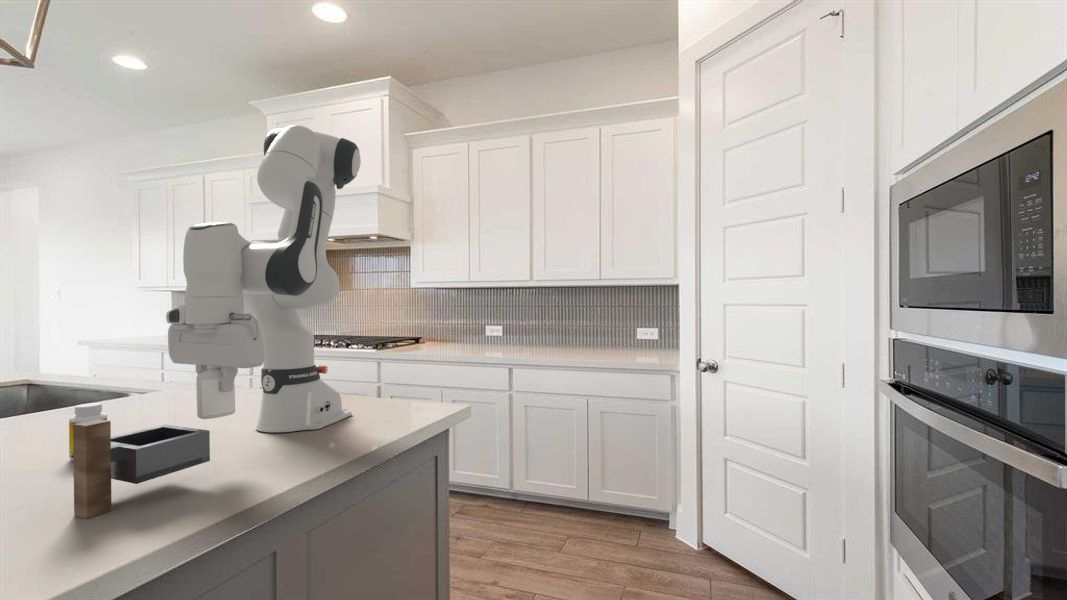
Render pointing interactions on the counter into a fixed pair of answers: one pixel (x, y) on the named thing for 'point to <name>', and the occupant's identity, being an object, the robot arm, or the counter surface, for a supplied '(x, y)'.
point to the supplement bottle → (84, 419)
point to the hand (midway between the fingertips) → (217, 390)
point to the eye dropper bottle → (213, 395)
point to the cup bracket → (128, 459)
